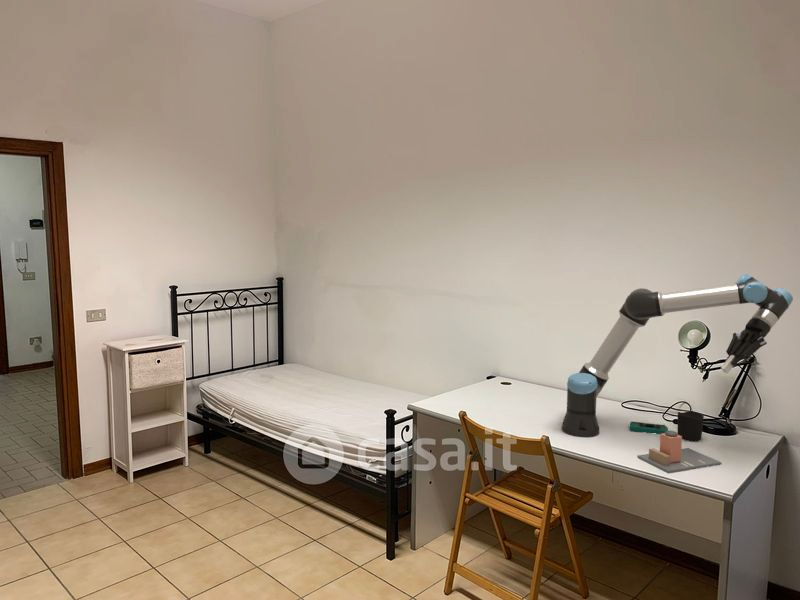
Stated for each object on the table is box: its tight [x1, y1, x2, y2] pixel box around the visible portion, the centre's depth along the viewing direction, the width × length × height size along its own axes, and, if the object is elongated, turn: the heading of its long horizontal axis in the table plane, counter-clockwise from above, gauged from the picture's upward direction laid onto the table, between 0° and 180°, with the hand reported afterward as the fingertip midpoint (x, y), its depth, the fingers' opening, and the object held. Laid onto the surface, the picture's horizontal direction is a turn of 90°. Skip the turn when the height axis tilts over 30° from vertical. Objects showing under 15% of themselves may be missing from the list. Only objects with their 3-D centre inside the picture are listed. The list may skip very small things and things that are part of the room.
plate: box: [636, 447, 722, 474], centre depth 210 cm, size 24×15×4 cm, turn 109°
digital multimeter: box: [629, 420, 669, 435], centre depth 244 cm, size 7×15×3 cm, turn 70°
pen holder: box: [676, 410, 705, 442], centre depth 234 cm, size 9×9×10 cm
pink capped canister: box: [659, 430, 683, 463], centre depth 209 cm, size 5×5×10 cm
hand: (724, 370), depth 213 cm, fingers closed
